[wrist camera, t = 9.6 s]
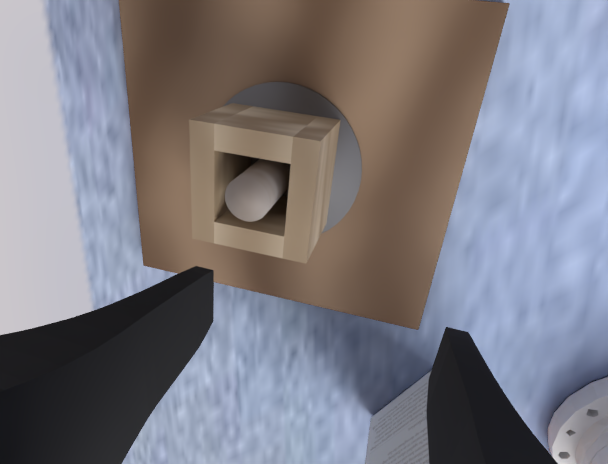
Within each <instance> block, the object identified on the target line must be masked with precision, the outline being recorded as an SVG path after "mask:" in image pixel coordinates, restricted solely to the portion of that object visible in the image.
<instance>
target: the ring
mask: <svg viewBox="0 0 608 464" xmlns="http://www.w3.org/2000/svg"><path fill="white" fill-rule="evenodd" d="M340 121H341V120H339V119H332V118H326V117H319V116H313V115H306V114H300V113H293V112H287V111H280V110H274V109H267V108H261V107H254V106H248V105H241V104H235V103H231V104H229V105H226V106H223V107H221V108H218V109H216V110H213V111H210V112H208V113H205V114H202V115H200V116H197V117H195V118H192V119H189V133H190V171H191V209H192V239H197V240H201V241H206V242H210V243H215V244H219V245H224V246H228V247H233V248H237V249H242V250H246V251H251V252H255V253H260V254H265V255H269V256H274V257H278V258H283V259H287V260H292V261H296V262H301V263H305V264H306V263H307V261H308V259H309V257H310V255H311V253H312V251H313V249H314V247H315V245H316V243H317V241H318V239H319V237H320V235H321V233H322V231H323V229H324V227H325V225H326V223H327V215H328V208H329V201H330V194H331V186H332V179H333V172H334V164H335V157H336V150H337V143H338V135H339V128H340ZM251 157H254V158H260V159H265V160H271V161H277V162H282V163H288V164H291V166H290V177H289V189H288V197H286V196H281V197H280V198H279V199H278V201H277V202H276V203H275V204H274V205H273V206H272V208H271V209H270V210H269V211H268V212H267V213H266V215H265V216H264V217H263V218H261V219H260V220H257V221H253V222H248V221H243V220H241V219H239V218H237V217H236V216H234V215H233V214H232V213H231V211H230V210H229V209H228V207H227V205H226V202H225V191H226V188H227V186H228V184H229V183H230V182H231V181H232V180H234V179H235V178H236V177H238V176H239V175H240V174H241V173H243V172H244V171H245V170H247V169H248V168H249V167H250V166H251Z"/></svg>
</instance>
